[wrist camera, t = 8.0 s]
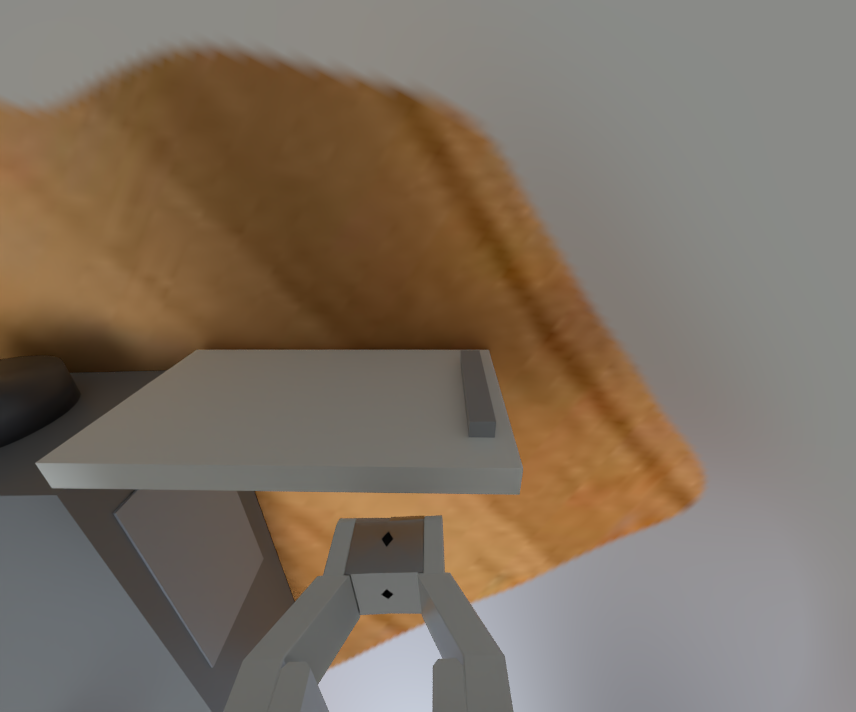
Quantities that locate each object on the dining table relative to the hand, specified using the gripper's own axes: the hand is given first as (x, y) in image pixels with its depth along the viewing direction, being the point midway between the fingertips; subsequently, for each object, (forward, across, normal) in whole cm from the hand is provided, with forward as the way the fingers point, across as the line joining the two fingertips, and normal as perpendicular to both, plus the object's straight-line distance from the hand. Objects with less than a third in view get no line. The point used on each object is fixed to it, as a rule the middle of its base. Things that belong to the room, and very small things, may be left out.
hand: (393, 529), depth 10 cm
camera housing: (+9, +17, +11) cm, 22 cm away
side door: (+8, +3, -2) cm, 9 cm away
